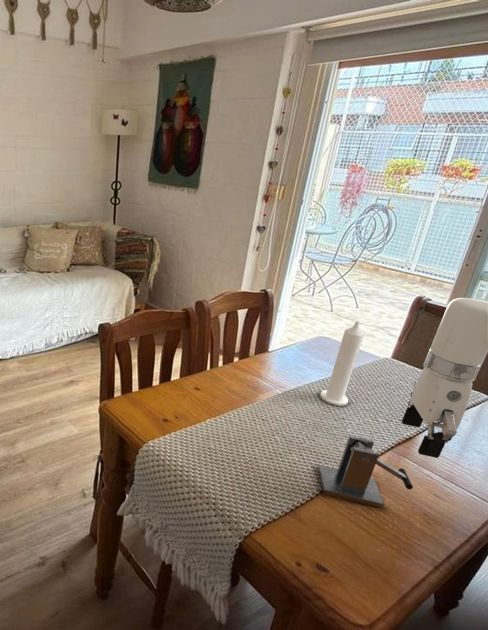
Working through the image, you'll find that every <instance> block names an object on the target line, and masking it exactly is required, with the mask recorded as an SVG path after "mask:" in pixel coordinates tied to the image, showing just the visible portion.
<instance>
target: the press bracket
mask: <svg viewBox="0 0 488 630" xmlns="http://www.w3.org/2000/svg"><path fill="white" fill-rule="evenodd" d="M358 441H359V442H360V443H362V444H364V445H365V446H367V447H368V448H370V449H371V451H370V450H366V449H361V448H356V447H353V450H352V452H351V449H350V448H351V447H352V446H353V445H355V444H356V443H357V442H358ZM374 444H375V442H374V440H373V439H369V438H365V437H360V436H354V435H349V436H348V439H347V441H346V444H345V448H344V451H343V453H342V455H341V459H340V462H339V465H338V467H337V468H335V467H330V466H325V465H321V464H319V465H318V467H317V471H318V476H319V480H320V484H321V489H322V493H323V495H327V496H331V497H335V498H339V499H343V500H347V501H351V502H355V503H359V504H364V505H367V506H371V507H376V508H380V509H383V508H384V506H385V503H384V500H383V497H382V495H381V493H380V490H379V487H378V484H377V481H376V480H375V477H372V476H373V472H374V470H375V467H376V466H377V465H376V462H377V459H378V458H379V457H380V454H379V452H378V451H374V450H373V446H374Z"/></svg>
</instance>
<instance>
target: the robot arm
mask: <svg viewBox="0 0 488 630" xmlns="http://www.w3.org/2000/svg"><path fill="white" fill-rule="evenodd" d="M487 355H488V301H486V300H482V299H476V298H471V297H458V298H455V299H452V300H451V301H450V302H449V303H448V304H447V307H446V309H445V311H444V314H443V316H442V318H441V321H440V324H439V326H438V327H437V330H436V333H435V336H434V338H433V340H432V343H431V345H430V348H429V350H428V353H427V355H426V358H425V360H424V361H423V368H422V370H421V372H420V374H419V376H418V378H417V380H416V381H414V383H413V387H412V391H411V393H410V400H408V402H407V407H406V409H405V412H404V414H403V418H402V419H401V423H402V425H405V426H410V427H415V428H421V426H422V424H423V422H425V424H427V435H424V437H423V439H422V441H421V442H420V445H419V447H418V450H417V452H418V454H419V455H422V456H426V457H431V458H435V459H438V458H440V455H441V454H442V451H443V449H444V447H445V445H446V444H448V443H449V442H450V441H451V440H452V439H453V437H455V436H456V435H457V433H458V432H457V430H458V429H459V427H460V425H461V423H462V420H463V418H464V416H465V412H466V411H467V407H468V404H469V401H470V399H471V394H472V390H473V382H474V381H475V380H476V379H477V376H478V374H479V372H480V370H481V367H482V365H483V363H484V361H485V359H486V357H487ZM436 421H437V422H436ZM438 422H442V423H438ZM435 428H439V429H441V431H438V432H435Z"/></svg>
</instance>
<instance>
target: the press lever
mask: <svg viewBox="0 0 488 630" xmlns="http://www.w3.org/2000/svg"><path fill="white" fill-rule="evenodd" d="M353 447H356V448H361V449H366V450H370V451H372V449H370V448H368V447H367V446H365V445H364V444H362V443H360V442H359V441H358V442H357V443H356V444H355V445H353V446H352V447H351V448H350V449H351V452H352V450H353ZM375 466H378V467H380V468H381V469H383V470H385V471H386V472H388V473H389V474H391V475H393V476H394V477H396V478H397V479H399V480H401V481H402V482H403V484H404V486H405V488H406V489H407V490H412V489H414V486H413V484H412V482H411V480H410V478H409V475H408V474H407V472H406V469H404V468H403V467H402V468H401V467H400V468H399V469H396V467H394V466H392V465H390V464H389V463H387V462H385V461H384V460H382V459H380V458H379V457H378V459H377V462H376V465H375Z"/></svg>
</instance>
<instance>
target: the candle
mask: <svg viewBox="0 0 488 630" xmlns="http://www.w3.org/2000/svg"><path fill="white" fill-rule="evenodd" d="M364 335H365V333H364V332H363V331H362V330H361V328H360V321H359V320H356V322H355V323H354V325H352V326H351V327H349V328H346V329H344V332H343V335H342V338H341V342H340V345H339V349H338V352H337V355H336V358H335V362H334V365H333V368H332V371H331V376H330V379H329V381H328V384H327V389H325V390H321V391H320V394H319V396H320V398H321V399H322V400H323V401H325V402H326V403H328V404H331V405H334V406H340V407H343V406H346V405H348V403H349V399H348V397H347V396H346V393H347V389H348V386H349V383H350V380H351V376H352V373H353V369H354V368H355V364H356V360H357V358H358V355H359V351H360V349H361V345H362V343H363V339H364Z"/></svg>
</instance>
